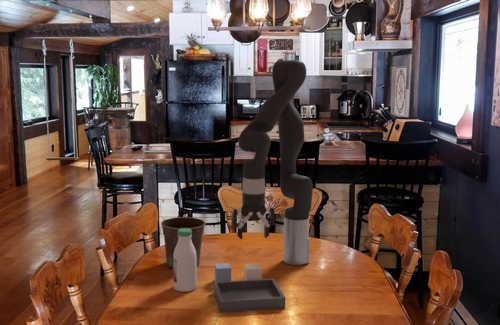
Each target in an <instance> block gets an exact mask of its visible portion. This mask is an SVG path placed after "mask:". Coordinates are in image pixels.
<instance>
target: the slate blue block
mask: <svg viewBox="0 0 500 325" xmlns="http://www.w3.org/2000/svg"><path fill="white" fill-rule="evenodd" d="M222 281H232V267H231V264H230V263H229V262H222V263H221V262H220V263H214V282H222Z"/></svg>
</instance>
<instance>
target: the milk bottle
mask: <svg viewBox="0 0 500 325" xmlns="http://www.w3.org/2000/svg"><path fill="white" fill-rule="evenodd" d="M191 237H192V230H191V229H188V228H182V229H179V230H178V243H177V245H176V247H175V250H174V255H173V267H172V271H173V272H172V274H173V275H172V278H173V279H172V280H173V282H172V283H173V289H174V290H175V291H176V292H183V293H186V292H188V293H189V292H192V291H194V290H196V288H197V287H198V286H197V285H198V276H197V275H198V273H197V272H198V270H197V269H198V266H197V258H196V250H195V248H194V246H193V243H192V240H191Z"/></svg>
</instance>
